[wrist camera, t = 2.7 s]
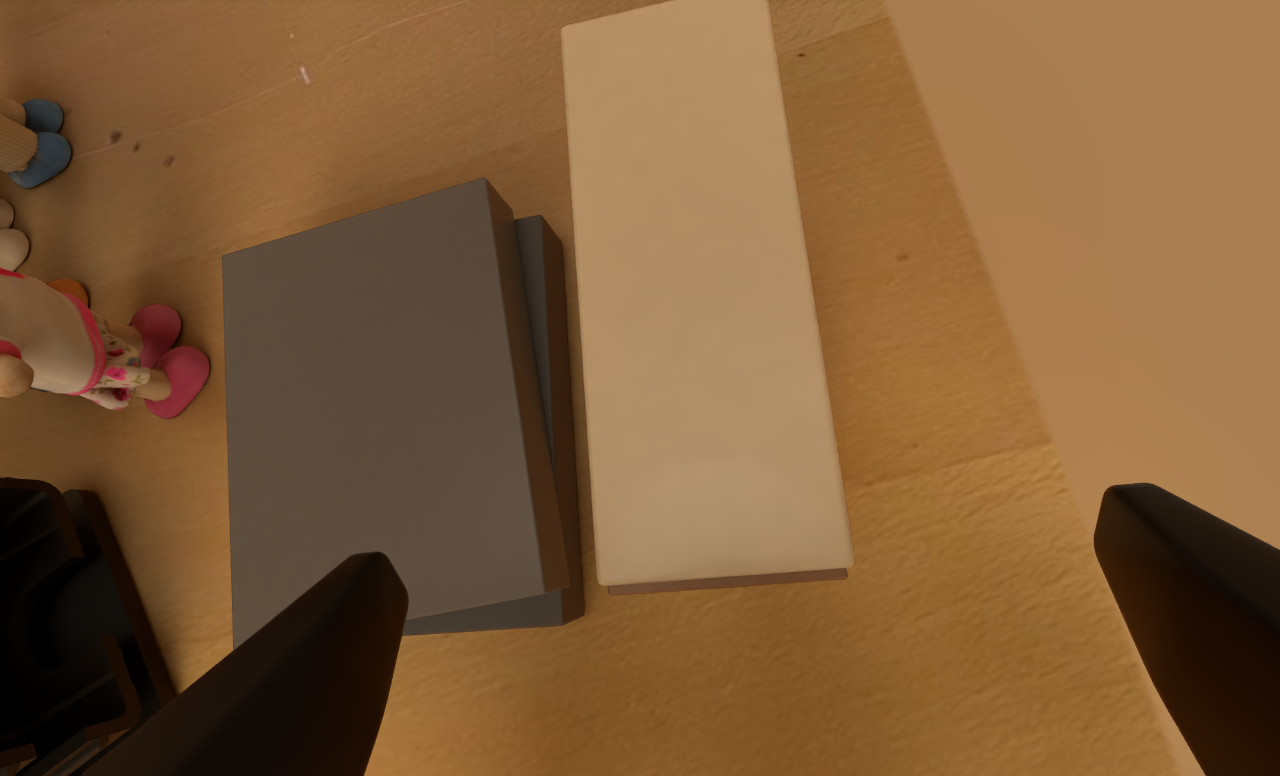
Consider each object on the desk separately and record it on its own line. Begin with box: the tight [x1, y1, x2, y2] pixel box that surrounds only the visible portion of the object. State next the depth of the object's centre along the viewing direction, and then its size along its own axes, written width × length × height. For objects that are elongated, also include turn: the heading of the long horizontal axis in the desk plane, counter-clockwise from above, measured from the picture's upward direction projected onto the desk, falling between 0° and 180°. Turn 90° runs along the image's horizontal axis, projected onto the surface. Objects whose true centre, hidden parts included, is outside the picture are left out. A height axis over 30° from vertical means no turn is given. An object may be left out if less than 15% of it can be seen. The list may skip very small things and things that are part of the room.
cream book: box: [561, 0, 855, 596], centre depth 14 cm, size 9×3×10 cm, turn 5°
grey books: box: [222, 177, 584, 650], centre depth 19 cm, size 12×10×4 cm
